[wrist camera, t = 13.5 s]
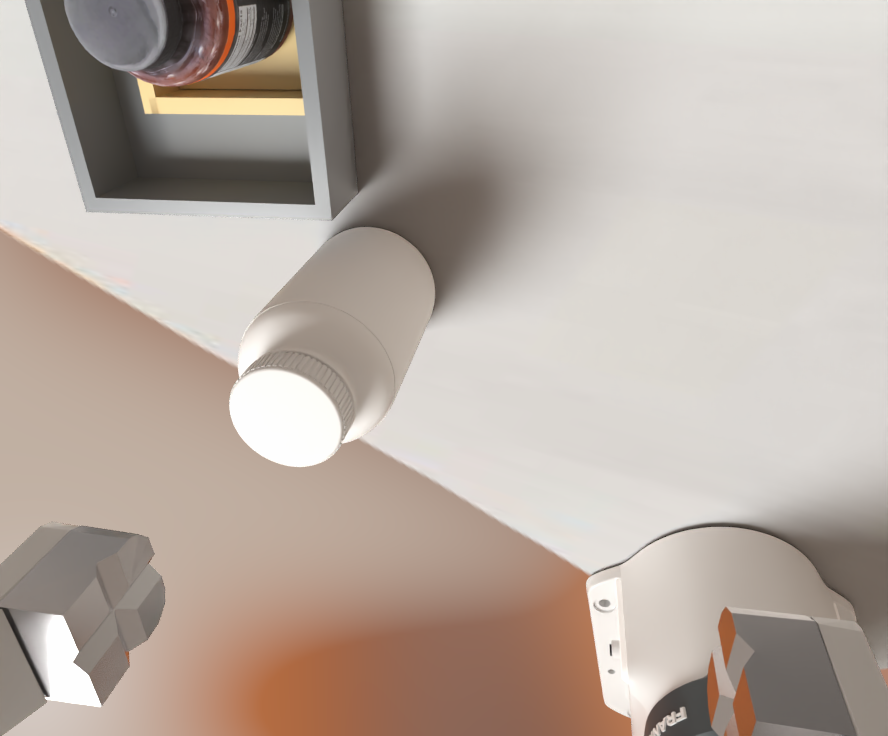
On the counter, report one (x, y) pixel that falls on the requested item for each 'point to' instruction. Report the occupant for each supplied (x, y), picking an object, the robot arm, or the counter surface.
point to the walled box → (210, 126)
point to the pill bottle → (332, 347)
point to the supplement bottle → (179, 35)
